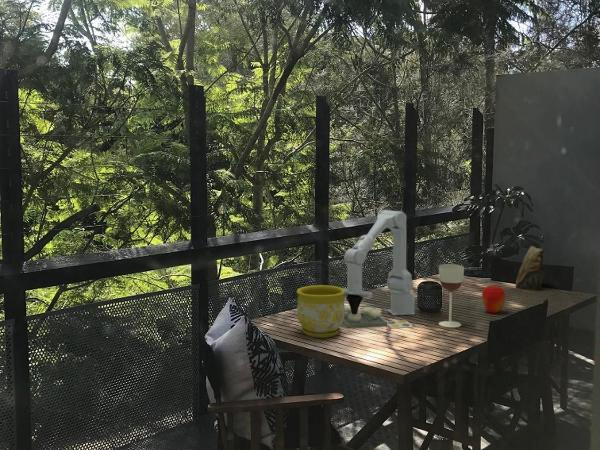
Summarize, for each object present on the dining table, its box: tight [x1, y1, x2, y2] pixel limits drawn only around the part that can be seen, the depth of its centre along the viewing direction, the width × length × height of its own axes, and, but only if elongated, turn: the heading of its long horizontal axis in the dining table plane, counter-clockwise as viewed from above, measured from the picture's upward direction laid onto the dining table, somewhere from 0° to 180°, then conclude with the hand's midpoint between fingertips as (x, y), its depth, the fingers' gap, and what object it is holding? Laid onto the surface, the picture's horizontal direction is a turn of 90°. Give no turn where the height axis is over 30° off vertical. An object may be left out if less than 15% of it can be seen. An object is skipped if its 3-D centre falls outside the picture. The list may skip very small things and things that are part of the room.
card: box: [385, 320, 414, 329], centre depth 249 cm, size 9×9×1 cm
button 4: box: [368, 308, 382, 319], centre depth 250 cm, size 5×5×4 cm
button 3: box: [362, 306, 376, 315], centre depth 258 cm, size 5×5×4 cm
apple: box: [481, 285, 506, 314], centre depth 267 cm, size 9×9×12 cm
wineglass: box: [438, 263, 465, 328], centre depth 248 cm, size 9×10×23 cm
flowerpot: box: [296, 284, 346, 339], centre depth 238 cm, size 18×18×16 cm
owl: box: [515, 245, 545, 292], centre depth 311 cm, size 13×13×20 cm
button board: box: [342, 311, 388, 329], centre depth 254 cm, size 16×16×2 cm
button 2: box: [348, 312, 361, 322], centre depth 249 cm, size 5×5×4 cm
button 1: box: [344, 304, 352, 314], centre depth 257 cm, size 5×5×4 cm
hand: (354, 313), depth 249 cm, fingers closed
